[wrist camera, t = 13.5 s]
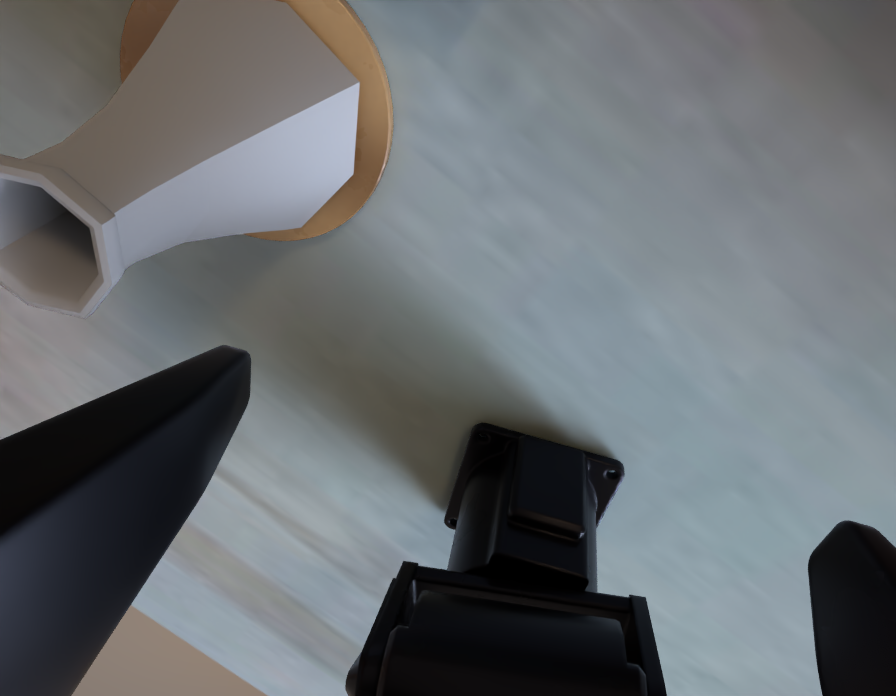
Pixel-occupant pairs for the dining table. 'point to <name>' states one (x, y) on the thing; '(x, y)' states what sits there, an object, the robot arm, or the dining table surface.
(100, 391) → the dining table surface
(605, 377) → the dining table surface
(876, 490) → the dining table surface
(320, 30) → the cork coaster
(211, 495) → the dining table surface
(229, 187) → the flask
